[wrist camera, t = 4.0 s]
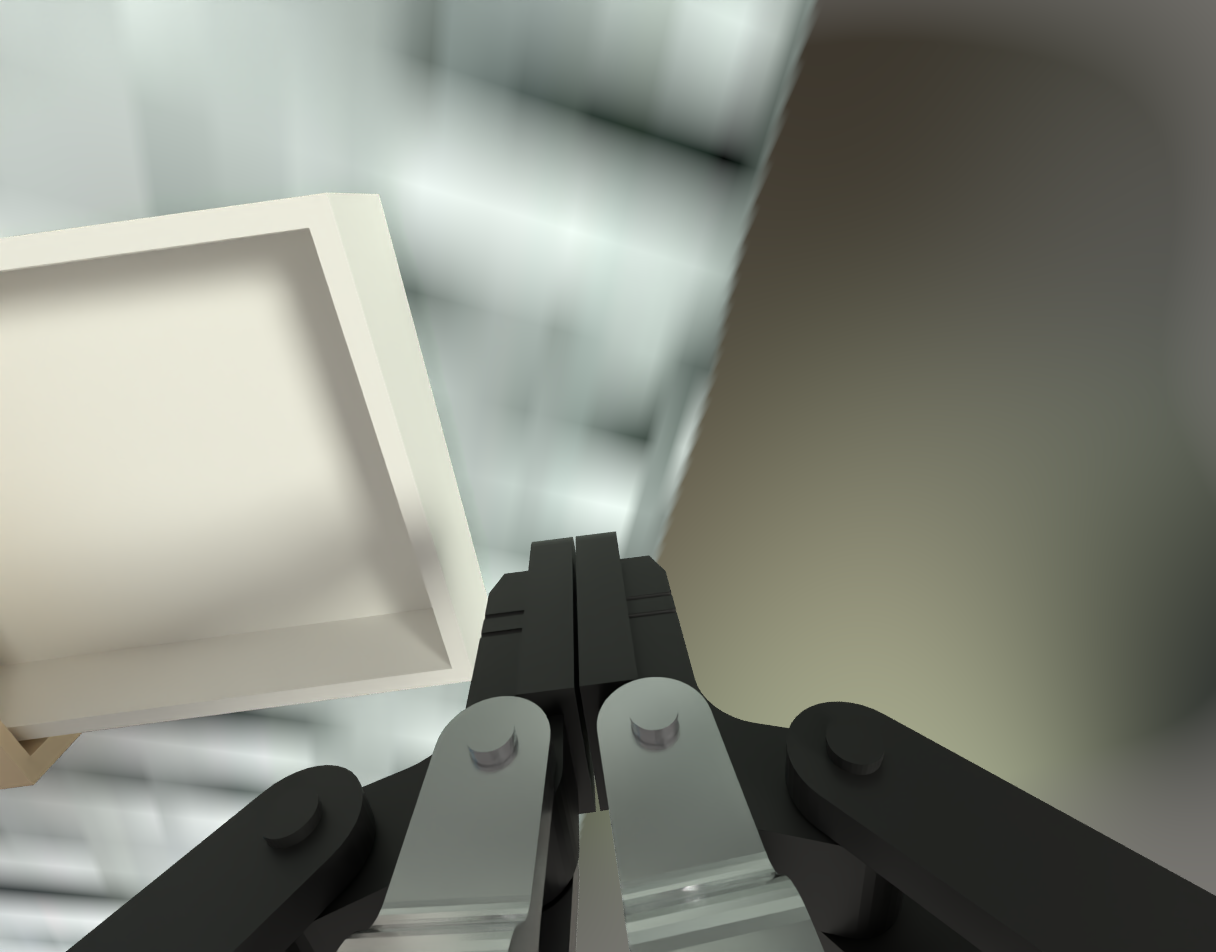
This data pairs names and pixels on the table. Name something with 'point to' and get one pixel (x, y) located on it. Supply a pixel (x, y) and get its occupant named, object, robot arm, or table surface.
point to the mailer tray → (221, 471)
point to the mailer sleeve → (28, 757)
